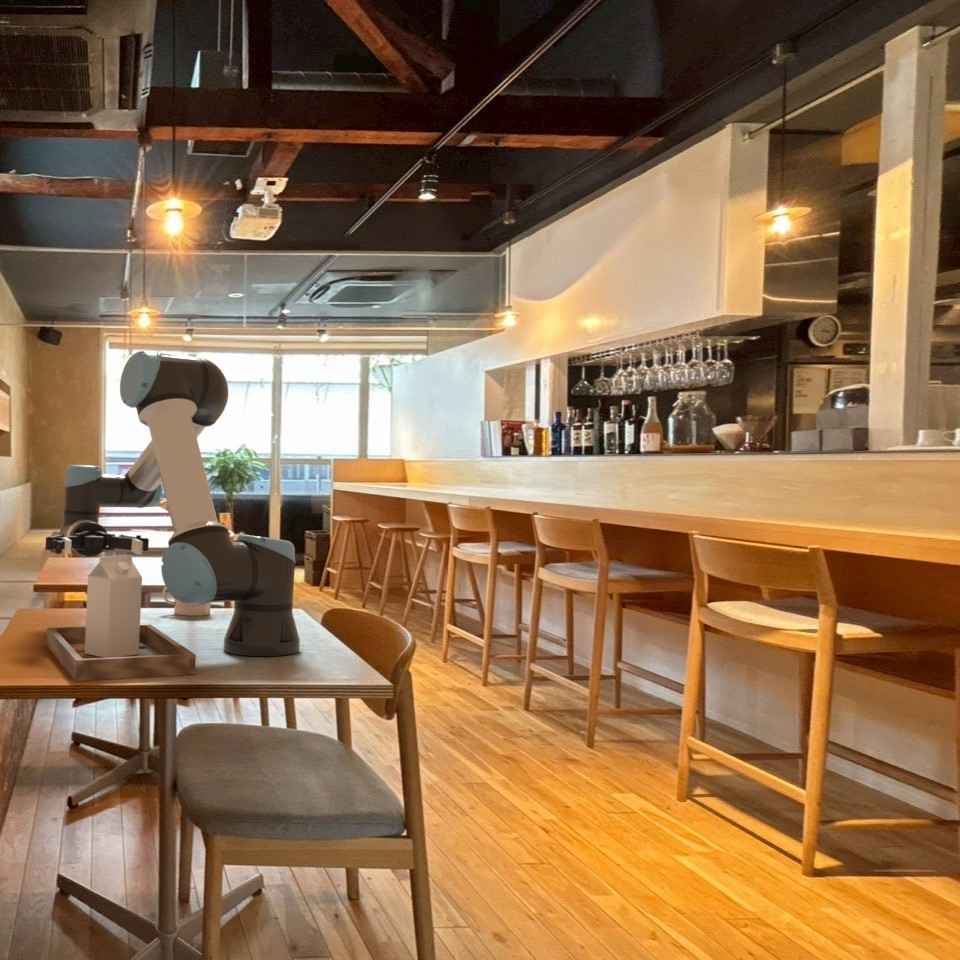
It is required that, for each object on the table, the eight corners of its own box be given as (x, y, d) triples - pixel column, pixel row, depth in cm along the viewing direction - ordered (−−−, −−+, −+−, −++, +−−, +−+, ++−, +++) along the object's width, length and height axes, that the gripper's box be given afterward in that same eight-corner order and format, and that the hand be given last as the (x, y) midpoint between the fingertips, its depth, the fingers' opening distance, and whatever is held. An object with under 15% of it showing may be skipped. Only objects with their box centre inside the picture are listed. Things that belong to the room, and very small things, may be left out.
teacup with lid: (205, 610, 262) (207, 564, 262) (215, 615, 254) (217, 568, 254) (157, 611, 256) (159, 565, 256) (165, 617, 248) (168, 568, 248)
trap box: (149, 641, 213) (150, 624, 213) (195, 674, 182) (195, 654, 182) (46, 645, 203) (47, 627, 203) (75, 681, 172) (76, 660, 172)
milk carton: (84, 654, 196) (88, 554, 196) (116, 650, 202) (120, 553, 202) (106, 659, 192) (111, 558, 192) (138, 655, 198) (143, 556, 198)
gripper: (145, 555, 231) (167, 566, 212) (24, 554, 218) (37, 566, 200) (147, 522, 230) (169, 530, 212) (26, 519, 218) (39, 527, 200)
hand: (105, 547), depth 206 cm, fingers open, 13 cm apart
